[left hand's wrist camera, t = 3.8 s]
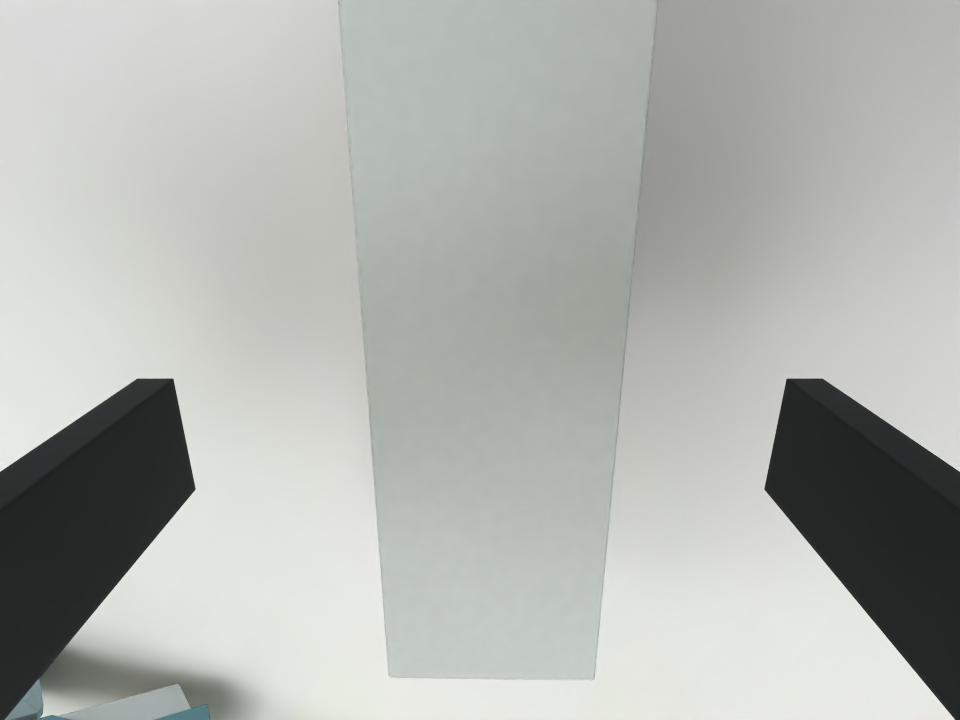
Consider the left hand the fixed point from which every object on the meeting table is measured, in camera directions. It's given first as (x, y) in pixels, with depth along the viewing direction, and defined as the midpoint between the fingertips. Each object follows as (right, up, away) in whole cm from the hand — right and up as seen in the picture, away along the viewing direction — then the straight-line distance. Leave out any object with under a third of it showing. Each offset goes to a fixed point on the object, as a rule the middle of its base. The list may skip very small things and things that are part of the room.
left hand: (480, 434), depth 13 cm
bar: (0, +25, -1) cm, 25 cm away
